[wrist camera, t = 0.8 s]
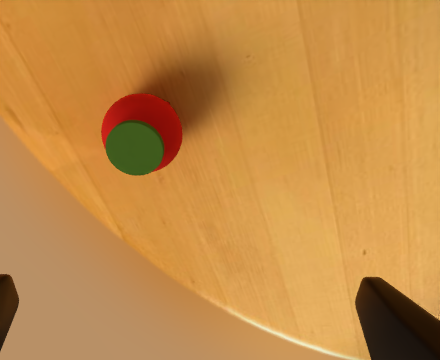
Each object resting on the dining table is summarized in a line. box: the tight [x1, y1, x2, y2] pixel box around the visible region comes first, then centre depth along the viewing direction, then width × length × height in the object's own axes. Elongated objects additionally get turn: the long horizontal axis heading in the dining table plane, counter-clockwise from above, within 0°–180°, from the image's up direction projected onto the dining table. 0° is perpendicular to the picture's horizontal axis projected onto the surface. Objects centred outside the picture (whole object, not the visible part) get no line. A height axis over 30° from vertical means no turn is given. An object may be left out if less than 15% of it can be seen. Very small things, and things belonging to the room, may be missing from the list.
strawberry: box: [101, 93, 182, 175], centre depth 17 cm, size 4×4×4 cm
